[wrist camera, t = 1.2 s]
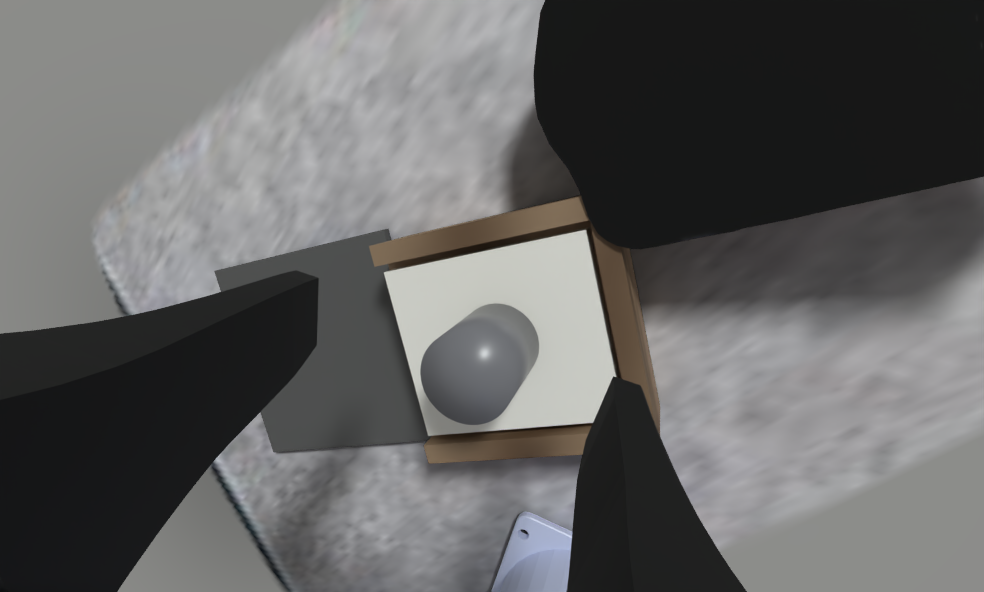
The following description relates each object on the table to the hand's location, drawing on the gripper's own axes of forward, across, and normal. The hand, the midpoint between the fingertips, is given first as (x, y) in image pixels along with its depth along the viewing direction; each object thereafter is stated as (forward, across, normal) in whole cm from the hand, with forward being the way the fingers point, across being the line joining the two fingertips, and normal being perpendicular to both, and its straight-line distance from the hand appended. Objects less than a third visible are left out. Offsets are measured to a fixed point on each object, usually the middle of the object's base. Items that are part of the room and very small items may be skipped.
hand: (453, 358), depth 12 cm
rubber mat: (+9, +8, +9) cm, 15 cm away
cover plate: (+7, 0, +4) cm, 8 cm away
